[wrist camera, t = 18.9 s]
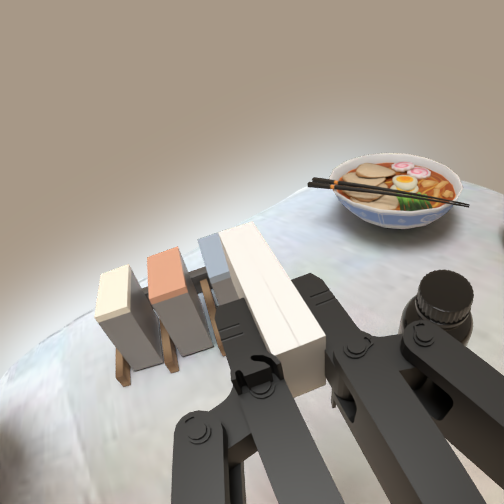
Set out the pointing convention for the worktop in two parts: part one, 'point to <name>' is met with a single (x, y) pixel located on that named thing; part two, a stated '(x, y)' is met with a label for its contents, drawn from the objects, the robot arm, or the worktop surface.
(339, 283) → the worktop surface
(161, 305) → the terracotta key
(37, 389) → the worktop surface
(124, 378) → the key bed
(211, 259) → the slate key
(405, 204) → the ramen bowl
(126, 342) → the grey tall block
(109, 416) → the worktop surface
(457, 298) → the supplement bottle
